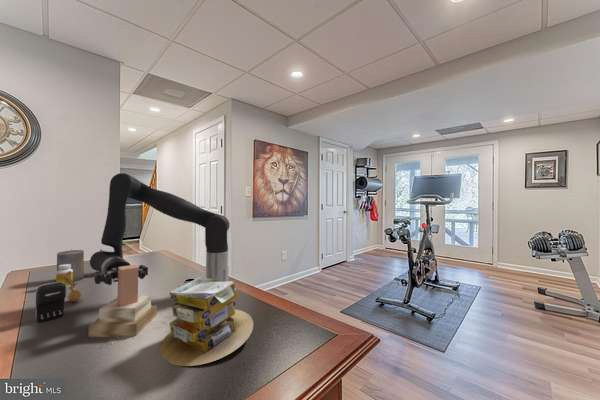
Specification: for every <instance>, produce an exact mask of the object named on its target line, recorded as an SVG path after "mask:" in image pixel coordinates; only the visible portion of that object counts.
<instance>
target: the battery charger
mask: <svg viewBox="0 0 600 400" xmlns="http://www.w3.org/2000/svg"><path fill="white" fill-rule="evenodd" d="M65 298H67V288H66V286H65V284H64V283H63V282H49V283H44V284H41V285H39V286H37V288H36V290H35V299H34V300H35V321H36V322H46V321H49V320H52V319H56V318H60V317H62V316H64V315H65V300H66V299H65Z"/></svg>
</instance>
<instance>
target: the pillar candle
mask: <svg viewBox="0 0 600 400" xmlns="http://www.w3.org/2000/svg"><path fill="white" fill-rule="evenodd" d="M84 251H85V250H83V249H74V250H73V249H70V250H65V251H59V252H57V253H56V272H57V271H59V265H64V264H71V268H70V269H72V270H73V281H74V282H78V281H81V280H82V279H84V278H85V277H84V275H85V274H84V273H85V272H84V269H85V265H84V264H85V263H84V262H85V260H84V255H85V254H84Z"/></svg>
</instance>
